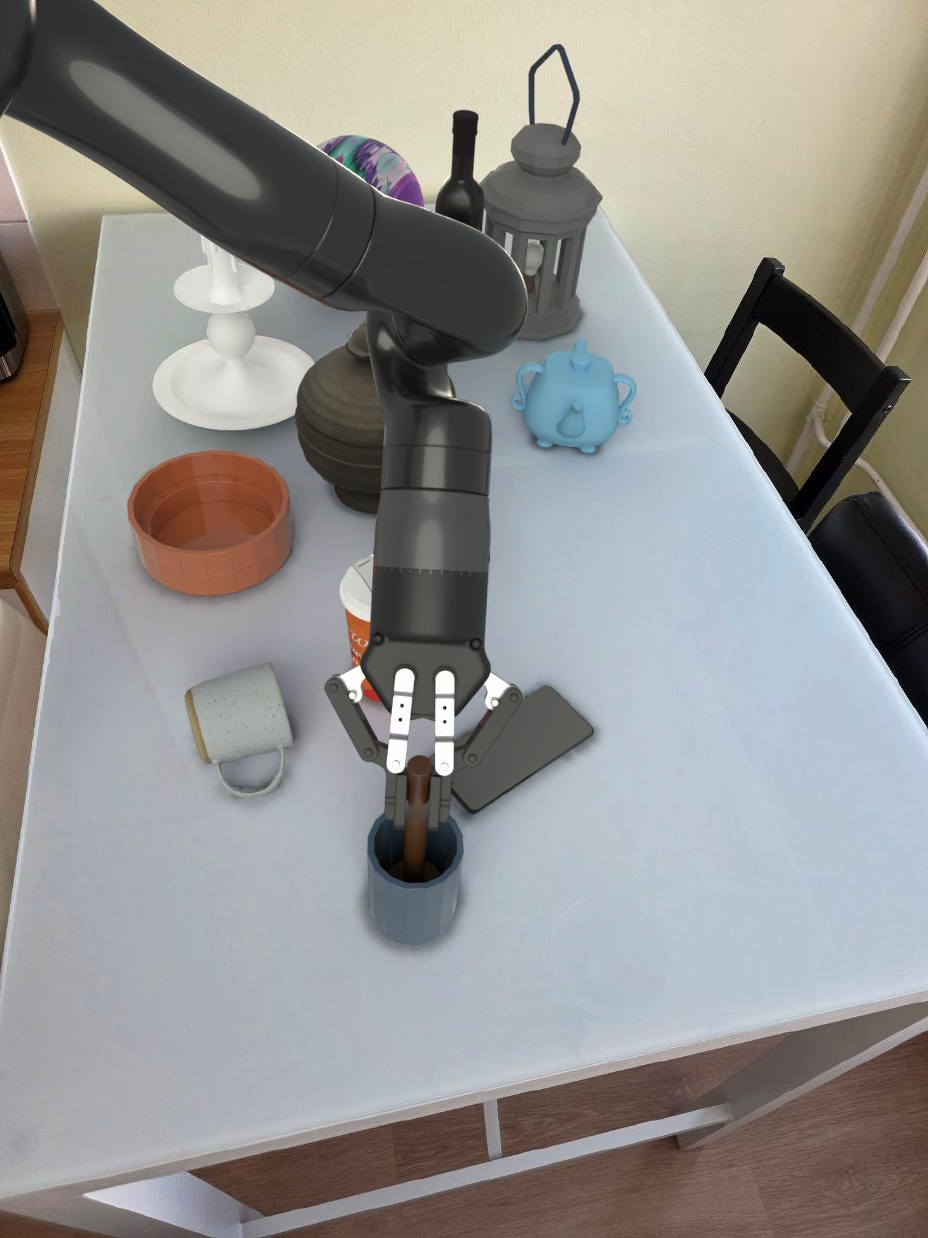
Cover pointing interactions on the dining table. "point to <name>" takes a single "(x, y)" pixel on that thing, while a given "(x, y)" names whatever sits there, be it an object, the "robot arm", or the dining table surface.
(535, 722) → the smartphone
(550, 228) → the lantern
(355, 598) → the paper cup
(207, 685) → the ceramic mug
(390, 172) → the decorative sphere
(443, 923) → the crock
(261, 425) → the candlestick
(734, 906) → the dining table surface
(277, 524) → the mixing bowl
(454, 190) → the wine bottle
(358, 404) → the pot
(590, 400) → the blue sugar bowl
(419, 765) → the brown wooden plunger
